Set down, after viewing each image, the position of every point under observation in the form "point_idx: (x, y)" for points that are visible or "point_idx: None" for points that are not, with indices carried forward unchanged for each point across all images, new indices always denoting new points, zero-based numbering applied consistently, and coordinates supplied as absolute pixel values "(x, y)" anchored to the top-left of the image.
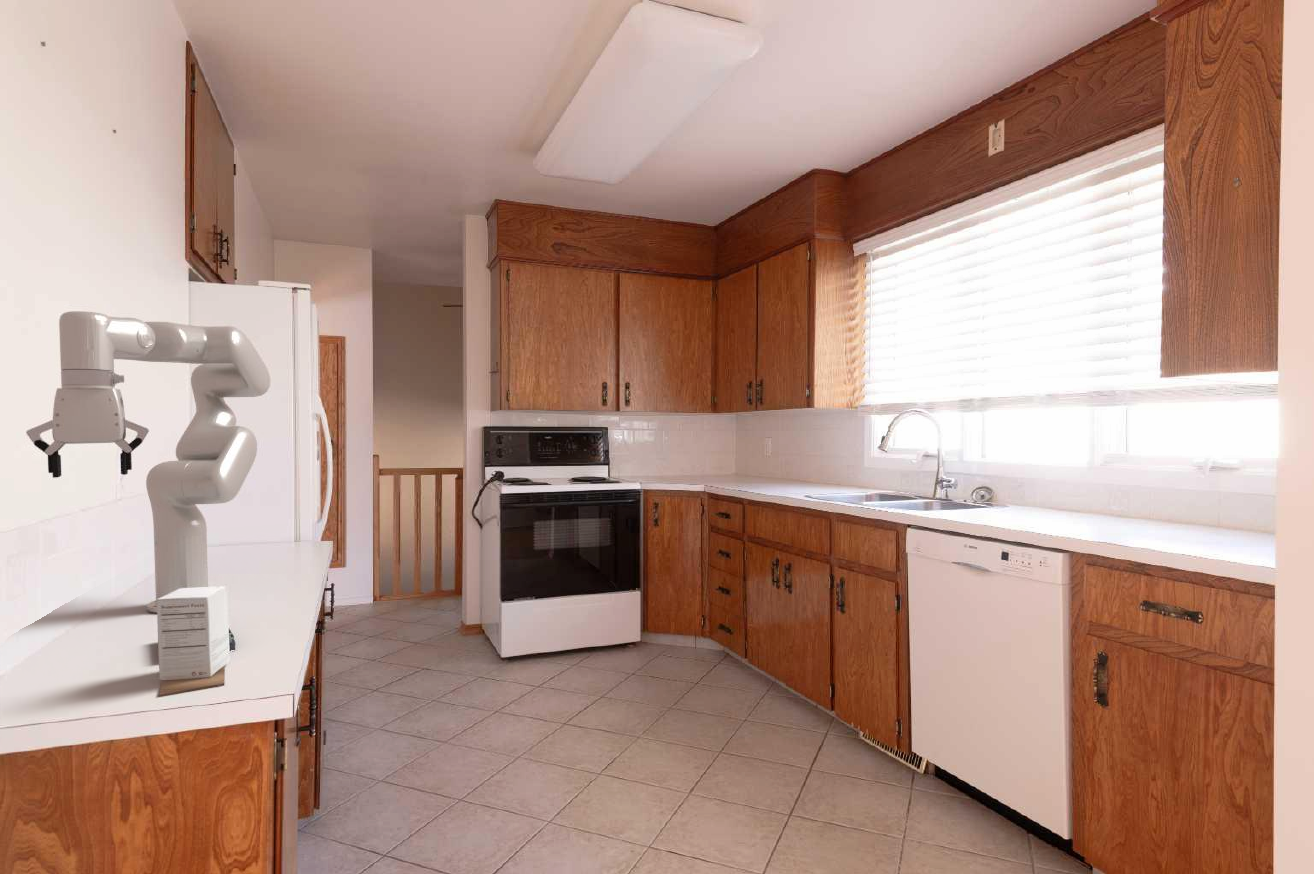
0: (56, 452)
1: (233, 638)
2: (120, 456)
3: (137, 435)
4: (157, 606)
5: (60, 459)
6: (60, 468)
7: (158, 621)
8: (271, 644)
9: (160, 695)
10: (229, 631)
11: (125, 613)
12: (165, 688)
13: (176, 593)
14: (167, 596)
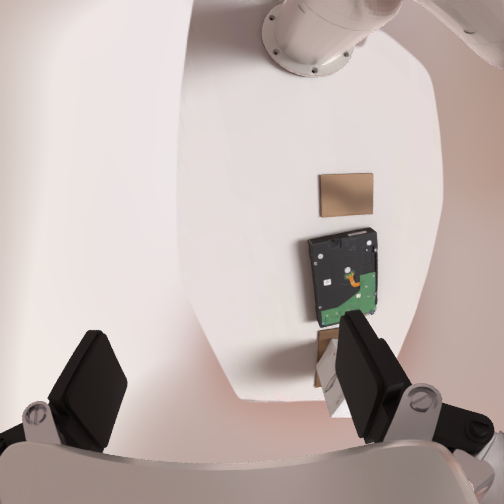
0: (88, 450)
1: (375, 309)
2: (356, 430)
3: (468, 477)
4: (329, 412)
5: (78, 389)
6: (97, 363)
7: (326, 401)
8: (398, 300)
9: (316, 387)
10: (376, 283)
11: (233, 41)
12: (319, 379)
13: (346, 407)
14: (339, 413)
